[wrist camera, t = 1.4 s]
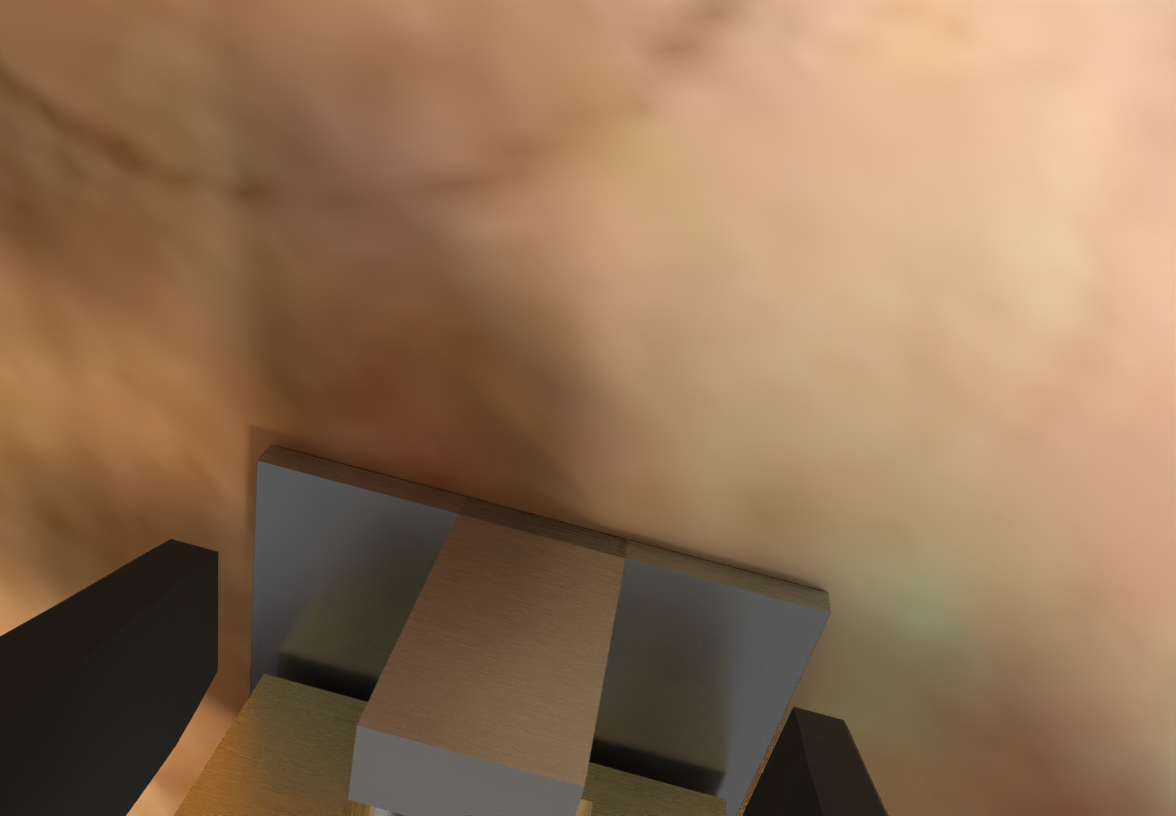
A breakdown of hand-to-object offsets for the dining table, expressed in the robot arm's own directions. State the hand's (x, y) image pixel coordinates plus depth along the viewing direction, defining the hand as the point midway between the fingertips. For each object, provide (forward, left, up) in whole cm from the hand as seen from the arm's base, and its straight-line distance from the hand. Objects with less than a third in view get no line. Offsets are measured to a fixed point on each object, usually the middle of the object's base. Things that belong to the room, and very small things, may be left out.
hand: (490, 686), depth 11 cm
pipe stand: (0, +11, -4) cm, 12 cm away
